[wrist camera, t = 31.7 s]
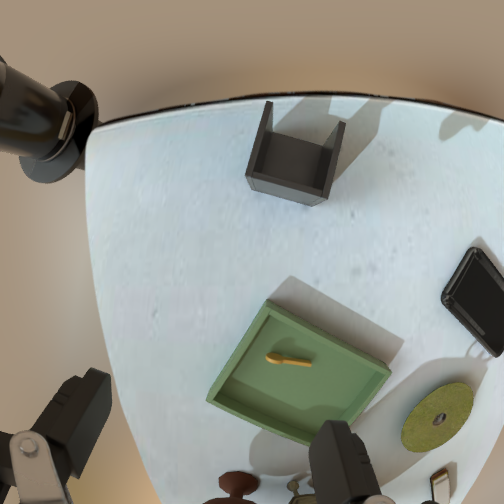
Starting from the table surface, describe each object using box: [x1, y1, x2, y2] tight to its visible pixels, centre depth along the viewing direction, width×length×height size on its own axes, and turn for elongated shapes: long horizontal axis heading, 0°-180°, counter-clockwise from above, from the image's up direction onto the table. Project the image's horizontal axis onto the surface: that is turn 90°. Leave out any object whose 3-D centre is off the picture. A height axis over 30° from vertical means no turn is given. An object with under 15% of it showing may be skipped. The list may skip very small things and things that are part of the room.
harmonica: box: [430, 468, 450, 504], centre depth 29 cm, size 15×3×2 cm, turn 25°
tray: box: [206, 299, 392, 447], centre depth 28 cm, size 15×12×2 cm
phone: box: [441, 247, 504, 358], centre depth 27 cm, size 8×1×15 cm
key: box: [265, 353, 312, 367], centre depth 28 cm, size 5×2×1 cm
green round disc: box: [401, 382, 474, 452], centre depth 28 cm, size 11×11×2 cm
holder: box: [245, 101, 346, 207], centre depth 24 cm, size 6×6×8 cm
